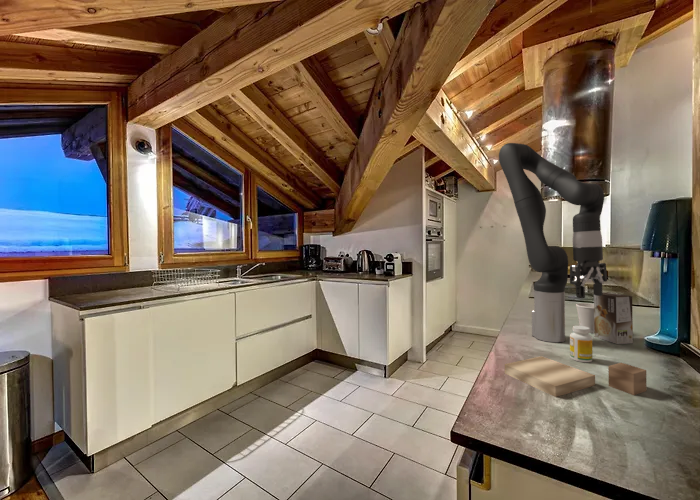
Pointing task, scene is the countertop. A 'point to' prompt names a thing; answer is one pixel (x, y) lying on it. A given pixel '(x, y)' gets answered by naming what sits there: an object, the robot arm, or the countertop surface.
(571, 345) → the supplement bottle
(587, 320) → the dixie cup
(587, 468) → the countertop surface
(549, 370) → the maple block
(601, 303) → the coffee box
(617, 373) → the walnut cube
